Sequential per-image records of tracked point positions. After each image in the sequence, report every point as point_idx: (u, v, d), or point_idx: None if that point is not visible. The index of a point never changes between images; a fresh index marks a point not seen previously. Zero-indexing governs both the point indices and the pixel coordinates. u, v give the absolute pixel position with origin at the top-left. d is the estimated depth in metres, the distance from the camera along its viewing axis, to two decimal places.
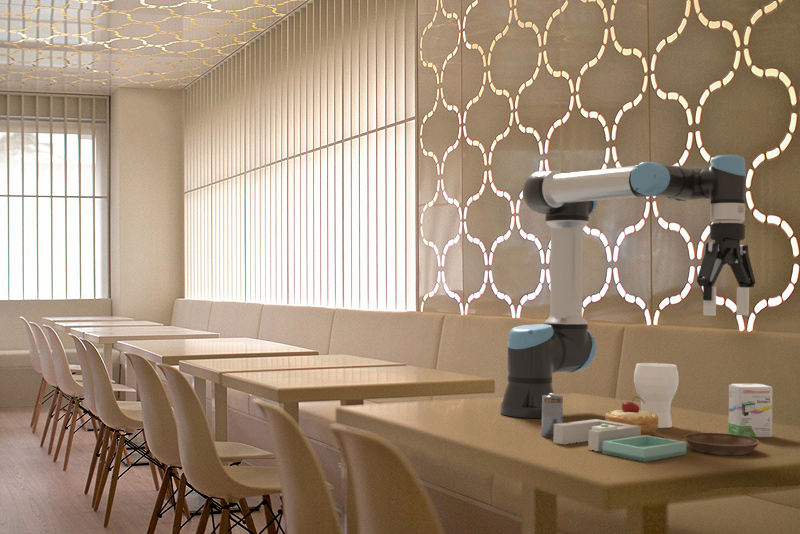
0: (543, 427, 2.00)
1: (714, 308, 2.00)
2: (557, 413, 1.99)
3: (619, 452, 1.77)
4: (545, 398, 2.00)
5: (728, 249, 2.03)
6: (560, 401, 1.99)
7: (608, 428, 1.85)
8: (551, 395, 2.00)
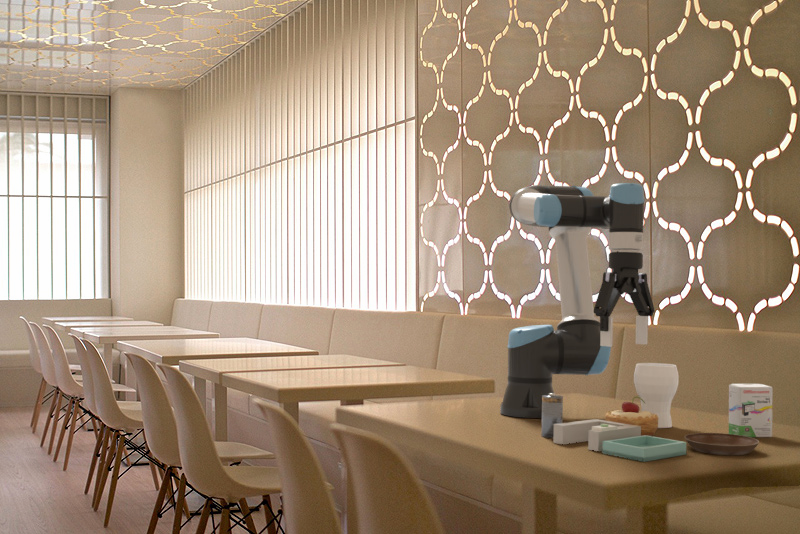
0: (543, 427, 2.00)
1: (611, 339, 1.97)
2: (557, 413, 1.99)
3: (619, 452, 1.77)
4: (545, 398, 2.00)
5: (626, 278, 2.01)
6: (560, 401, 1.99)
7: (608, 428, 1.85)
8: (551, 395, 2.00)
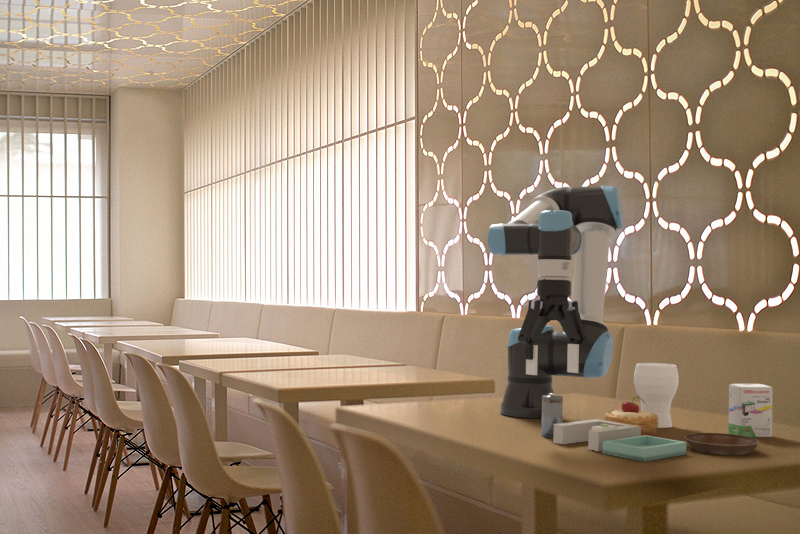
0: (543, 427, 2.00)
1: (535, 367, 1.96)
2: (557, 413, 1.99)
3: (619, 452, 1.77)
4: (545, 398, 2.00)
5: (552, 306, 1.99)
6: (560, 401, 1.99)
7: (608, 428, 1.85)
8: (551, 395, 2.00)
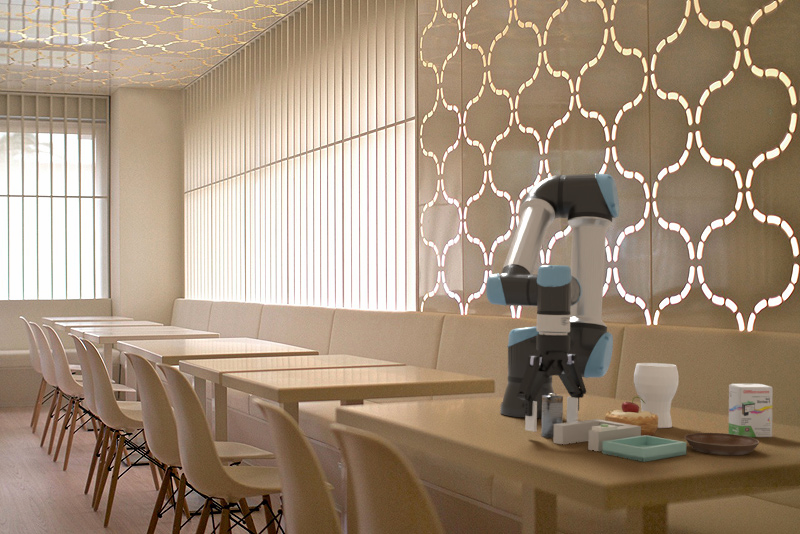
0: (543, 427, 2.00)
1: (534, 424, 1.96)
2: (557, 413, 1.99)
3: (619, 452, 1.77)
4: (545, 398, 2.00)
5: (552, 362, 1.99)
6: (560, 401, 1.99)
7: (608, 428, 1.85)
8: (551, 395, 2.00)
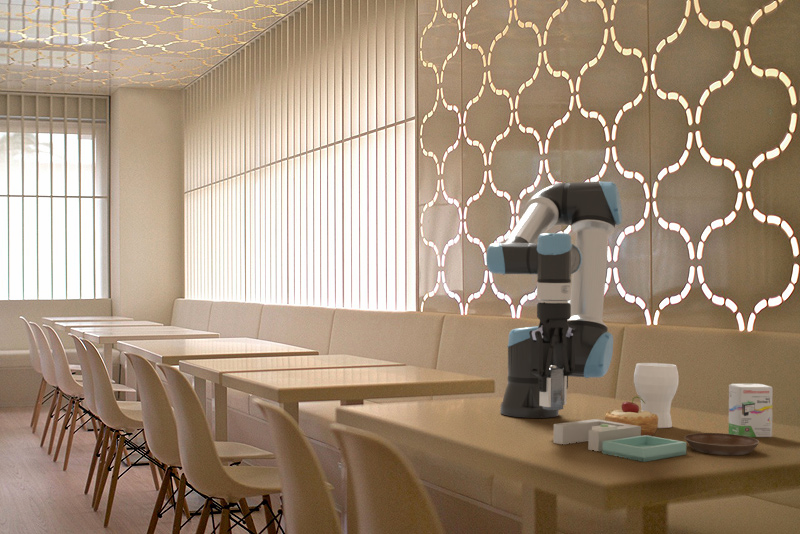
0: None
1: (549, 399, 1.99)
2: (558, 385, 2.00)
3: (619, 452, 1.77)
4: None
5: (552, 331, 1.99)
6: (561, 373, 2.00)
7: (608, 428, 1.85)
8: (552, 367, 2.01)
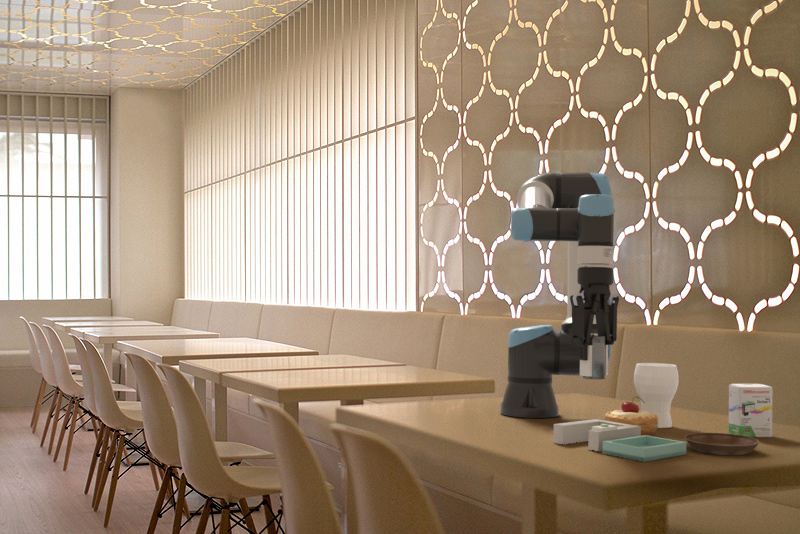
0: None
1: (590, 368, 1.89)
2: (600, 353, 1.90)
3: (619, 452, 1.77)
4: None
5: (594, 296, 1.90)
6: (602, 340, 1.90)
7: (608, 428, 1.85)
8: (593, 335, 1.91)
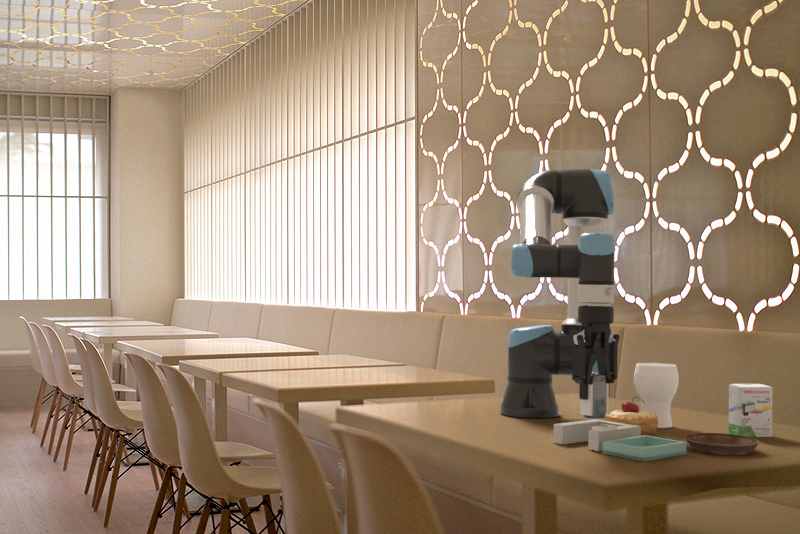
0: None
1: (590, 407, 1.89)
2: (601, 392, 1.89)
3: (619, 452, 1.77)
4: None
5: (595, 336, 1.90)
6: (603, 379, 1.90)
7: (608, 428, 1.85)
8: (593, 374, 1.91)
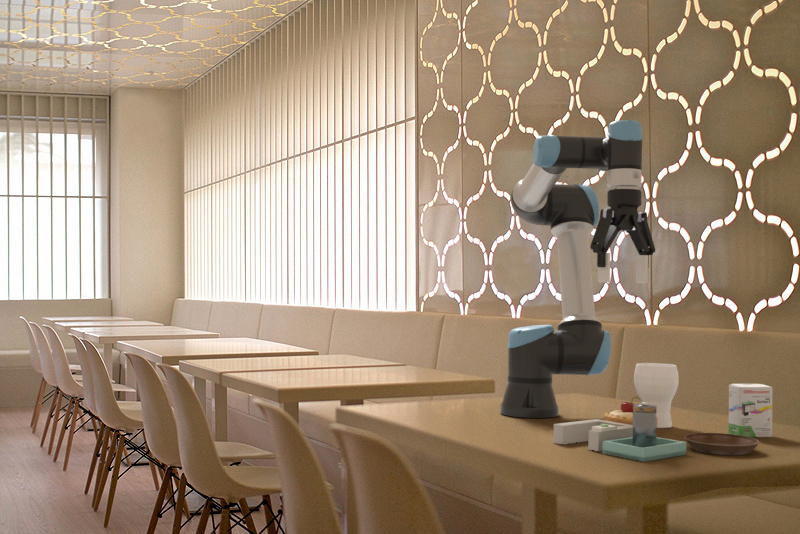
0: (635, 440, 1.80)
1: (608, 275, 1.97)
2: (651, 424, 1.79)
3: (619, 452, 1.77)
4: (637, 408, 1.80)
5: (624, 215, 2.01)
6: (654, 411, 1.80)
7: (608, 428, 1.85)
8: (644, 404, 1.81)
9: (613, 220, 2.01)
